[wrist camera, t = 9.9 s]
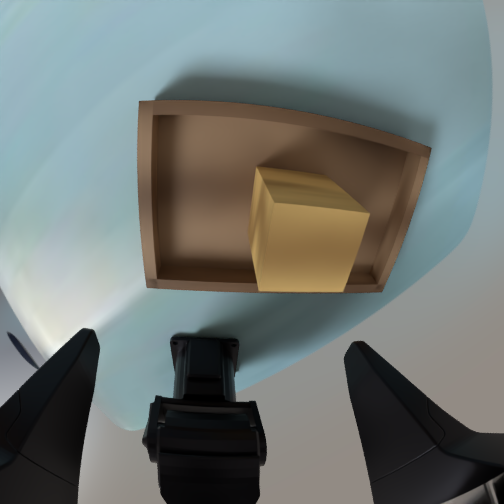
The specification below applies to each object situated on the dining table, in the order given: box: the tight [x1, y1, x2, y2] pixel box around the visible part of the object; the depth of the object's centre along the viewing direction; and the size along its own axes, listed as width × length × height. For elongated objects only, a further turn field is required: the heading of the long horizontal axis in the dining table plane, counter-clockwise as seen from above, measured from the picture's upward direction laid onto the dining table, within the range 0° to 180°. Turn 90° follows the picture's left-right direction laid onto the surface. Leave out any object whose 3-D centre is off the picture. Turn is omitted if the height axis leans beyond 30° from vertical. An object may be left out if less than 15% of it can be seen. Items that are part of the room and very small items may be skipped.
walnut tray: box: [137, 100, 431, 293], centre depth 17 cm, size 12×18×2 cm, turn 83°
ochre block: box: [248, 166, 370, 292], centre depth 15 cm, size 4×4×6 cm
